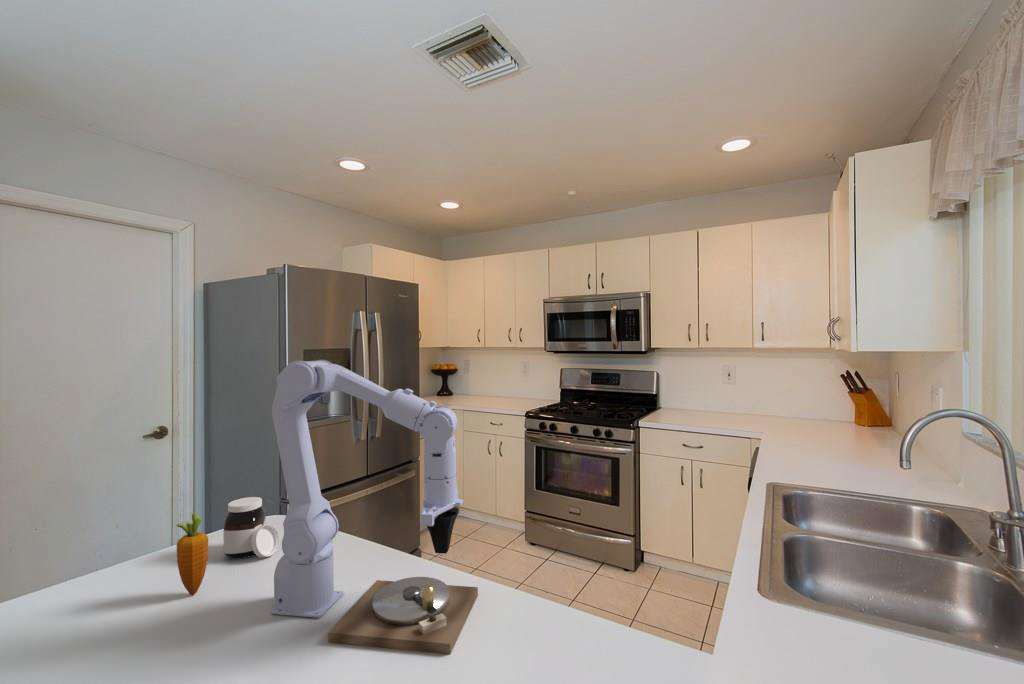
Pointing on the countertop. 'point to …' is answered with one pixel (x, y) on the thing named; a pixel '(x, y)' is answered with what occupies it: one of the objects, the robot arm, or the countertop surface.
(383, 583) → the stand
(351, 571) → the countertop surface
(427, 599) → the cam dial
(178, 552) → the carrot
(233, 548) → the spread jar
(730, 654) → the countertop surface
